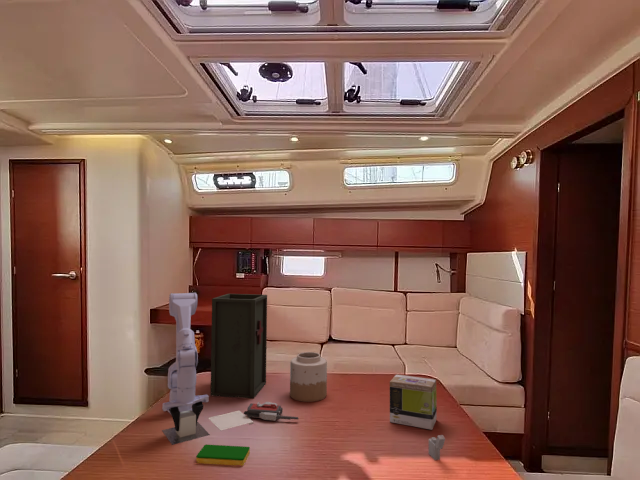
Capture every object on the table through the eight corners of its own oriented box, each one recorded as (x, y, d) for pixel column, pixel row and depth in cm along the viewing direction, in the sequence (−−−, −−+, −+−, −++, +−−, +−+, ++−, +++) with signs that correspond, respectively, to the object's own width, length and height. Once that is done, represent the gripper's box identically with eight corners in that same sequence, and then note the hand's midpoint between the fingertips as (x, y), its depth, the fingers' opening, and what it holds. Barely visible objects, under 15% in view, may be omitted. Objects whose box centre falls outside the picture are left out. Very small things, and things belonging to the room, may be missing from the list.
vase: (333, 393, 172) (333, 353, 172) (313, 405, 159) (313, 362, 160) (303, 386, 180) (304, 348, 181) (282, 397, 167) (283, 356, 168)
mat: (207, 419, 145) (207, 417, 145) (239, 411, 152) (239, 410, 152) (220, 432, 135) (220, 430, 135) (253, 423, 142) (253, 421, 142)
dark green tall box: (226, 381, 186) (228, 293, 187) (266, 383, 183) (267, 294, 184) (210, 395, 168) (212, 298, 168) (253, 398, 165) (255, 299, 166)
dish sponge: (243, 467, 114) (243, 458, 115) (195, 464, 116) (195, 455, 116) (249, 454, 122) (250, 446, 122) (205, 452, 123) (205, 443, 123)
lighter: (428, 453, 123) (428, 426, 123) (433, 452, 123) (433, 425, 123) (439, 465, 116) (439, 437, 116) (445, 465, 116) (445, 436, 116)
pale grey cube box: (175, 431, 134) (175, 413, 134) (190, 427, 137) (191, 409, 137) (180, 437, 130) (180, 418, 130) (195, 433, 133) (196, 414, 133)
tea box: (437, 419, 147) (437, 378, 147) (432, 431, 138) (432, 387, 138) (395, 412, 153) (396, 372, 153) (388, 422, 144) (389, 380, 144)
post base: (161, 431, 135) (162, 418, 135) (197, 423, 142) (197, 410, 142) (172, 446, 125) (172, 431, 125) (209, 436, 132) (210, 422, 132)
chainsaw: (241, 419, 144) (297, 423, 142) (242, 406, 144) (298, 410, 142) (247, 410, 152) (300, 414, 151) (248, 398, 153) (301, 402, 151)
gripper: (166, 394, 126) (166, 438, 126) (212, 385, 135) (211, 426, 134) (161, 387, 132) (160, 429, 132) (204, 379, 140) (204, 419, 140)
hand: (185, 427), depth 133 cm, fingers closed on pale grey cube box, 5 cm apart
